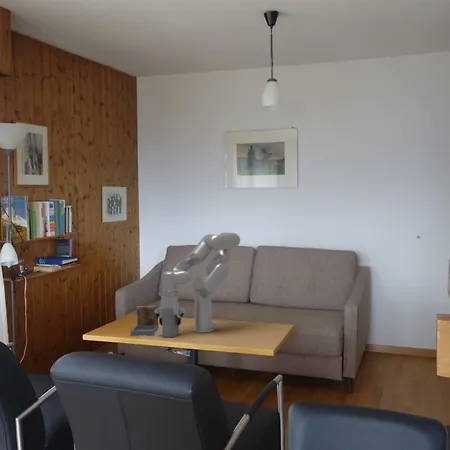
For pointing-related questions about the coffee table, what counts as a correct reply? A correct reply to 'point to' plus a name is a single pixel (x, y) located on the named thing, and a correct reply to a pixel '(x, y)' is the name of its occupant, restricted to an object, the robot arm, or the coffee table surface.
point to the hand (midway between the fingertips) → (170, 325)
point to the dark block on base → (147, 316)
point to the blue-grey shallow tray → (143, 330)
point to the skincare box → (169, 323)
